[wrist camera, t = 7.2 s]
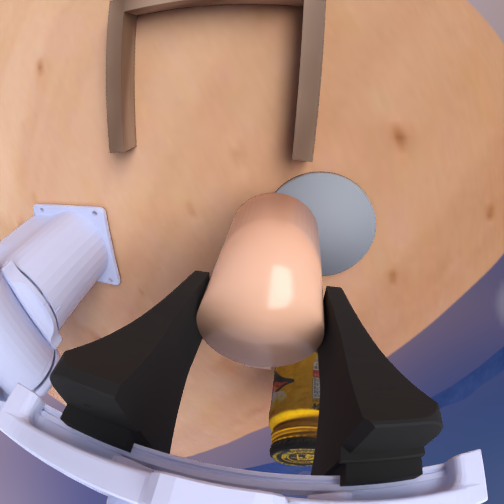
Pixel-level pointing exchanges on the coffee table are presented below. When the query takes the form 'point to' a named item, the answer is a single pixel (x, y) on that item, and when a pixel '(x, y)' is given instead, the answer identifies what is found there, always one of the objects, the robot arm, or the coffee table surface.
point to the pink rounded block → (266, 286)
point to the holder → (137, 3)
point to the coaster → (336, 217)
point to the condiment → (295, 412)
